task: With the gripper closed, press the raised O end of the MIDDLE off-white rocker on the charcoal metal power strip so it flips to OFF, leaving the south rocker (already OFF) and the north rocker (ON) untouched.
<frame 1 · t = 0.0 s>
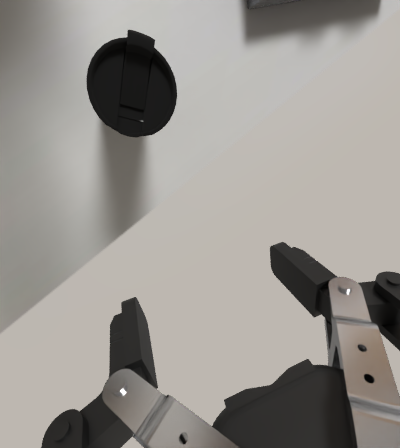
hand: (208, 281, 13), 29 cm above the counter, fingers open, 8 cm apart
travel mug: (123, 96, 33), on the counter
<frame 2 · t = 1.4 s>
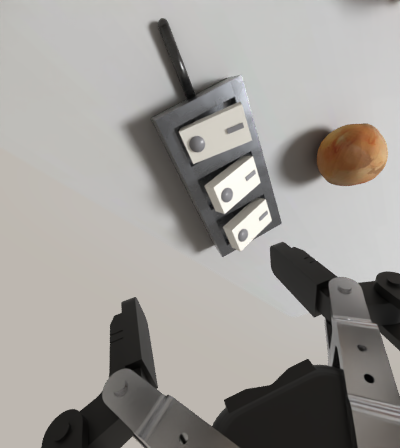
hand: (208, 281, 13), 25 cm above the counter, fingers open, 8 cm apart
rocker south: (215, 134, 30), point 5 cm above the counter, hinge at 20.0°
power strip: (220, 174, 39), on the counter
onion: (326, 150, 43), on the counter
rocker middle: (234, 184, 34), point 5 cm above the counter, hinge at -20.0°
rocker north: (248, 223, 38), point 5 cm above the counter, hinge at -20.0°
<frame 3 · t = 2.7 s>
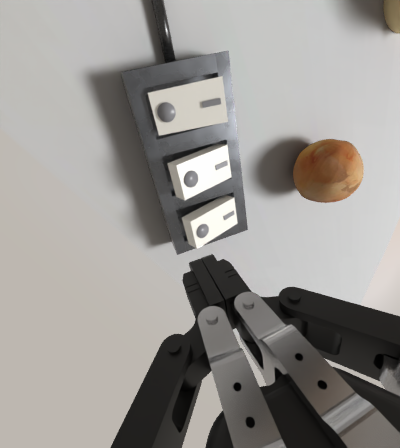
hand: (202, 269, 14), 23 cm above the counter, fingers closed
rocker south: (189, 106, 27), point 5 cm above the counter, hinge at 20.0°
power strip: (190, 162, 35), on the counter
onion: (304, 164, 42), on the counter
rocker middle: (202, 170, 30), point 5 cm above the counter, hinge at -20.0°
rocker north: (211, 220, 34), point 5 cm above the counter, hinge at -20.0°
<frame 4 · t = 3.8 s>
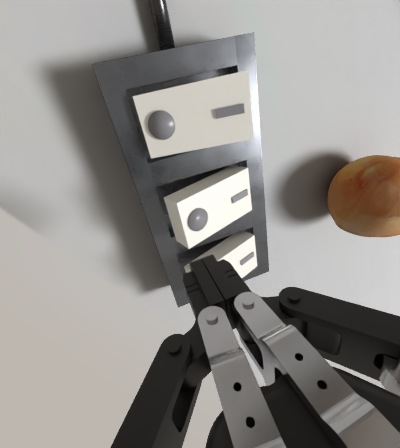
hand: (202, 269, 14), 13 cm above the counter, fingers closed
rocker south: (195, 116, 18), point 5 cm above the counter, hinge at 20.0°
power strip: (195, 187, 26), on the counter
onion: (339, 184, 33), on the counter
rocker middle: (212, 204, 22), point 5 cm above the counter, hinge at -20.0°
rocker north: (224, 266, 25), point 5 cm above the counter, hinge at -20.0°
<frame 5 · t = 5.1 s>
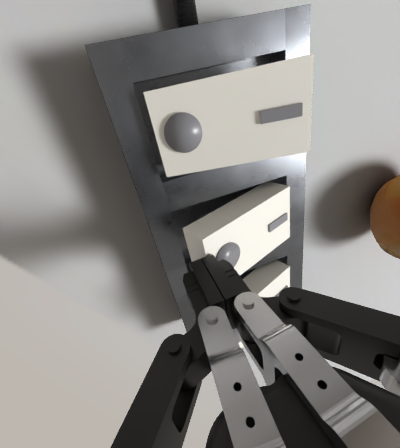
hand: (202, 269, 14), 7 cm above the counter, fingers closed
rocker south: (229, 120, 13), point 5 cm above the counter, hinge at 20.0°
power strip: (216, 205, 21), on the counter
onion: (381, 198, 28), on the counter
rocker middle: (243, 233, 17), point 5 cm above the counter, hinge at -19.9°, touching gripper
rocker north: (252, 305, 21), point 5 cm above the counter, hinge at -20.0°
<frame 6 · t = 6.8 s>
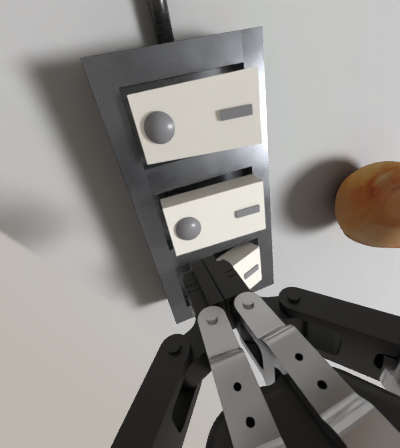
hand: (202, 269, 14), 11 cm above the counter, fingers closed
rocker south: (197, 118, 16), point 5 cm above the counter, hinge at 20.0°
power strip: (195, 194, 24), on the counter
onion: (346, 191, 31), on the counter
rocker middle: (215, 214, 20), point 5 cm above the counter, hinge at 4.4°
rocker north: (226, 280, 24), point 5 cm above the counter, hinge at -20.0°
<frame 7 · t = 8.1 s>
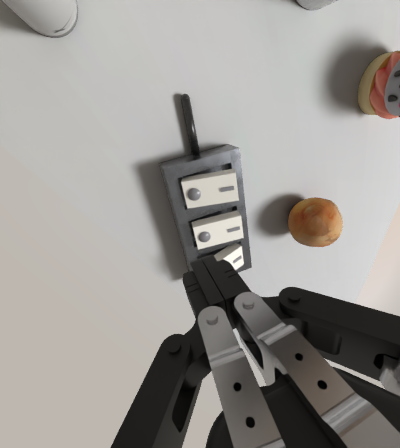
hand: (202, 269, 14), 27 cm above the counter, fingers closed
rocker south: (210, 189, 36), point 5 cm above the counter, hinge at 20.0°
power strip: (207, 217, 45), on the counter
cake: (378, 85, 44), on the counter
travel mug: (48, 4, 26), on the counter
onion: (297, 212, 51), on the counter
rocker middle: (217, 230, 40), point 5 cm above the counter, hinge at 8.8°
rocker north: (224, 264, 44), point 5 cm above the counter, hinge at -20.0°
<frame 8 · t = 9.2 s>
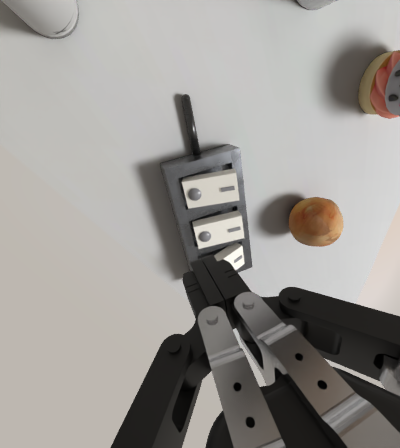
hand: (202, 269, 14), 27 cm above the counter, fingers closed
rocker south: (211, 189, 36), point 5 cm above the counter, hinge at 20.0°
power strip: (208, 217, 45), on the counter
cake: (379, 84, 44), on the counter
travel mug: (49, 5, 27), on the counter
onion: (298, 211, 51), on the counter
rocker middle: (218, 229, 40), point 5 cm above the counter, hinge at 10.2°
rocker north: (224, 263, 44), point 5 cm above the counter, hinge at -20.0°
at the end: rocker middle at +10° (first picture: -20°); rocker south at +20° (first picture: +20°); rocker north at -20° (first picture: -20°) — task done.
